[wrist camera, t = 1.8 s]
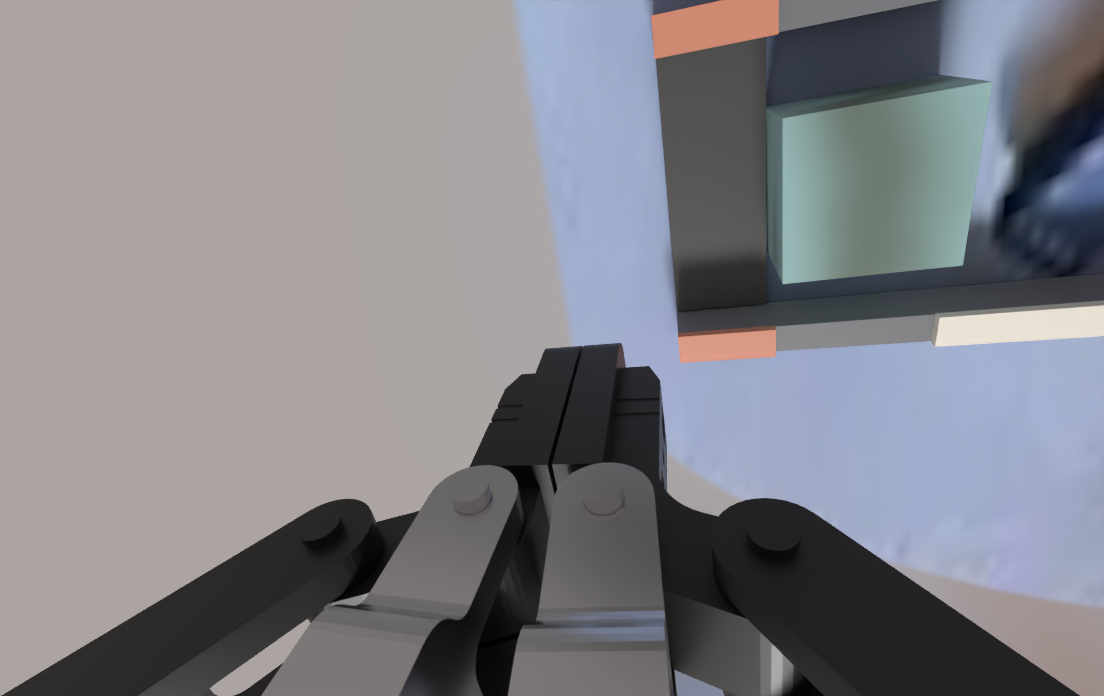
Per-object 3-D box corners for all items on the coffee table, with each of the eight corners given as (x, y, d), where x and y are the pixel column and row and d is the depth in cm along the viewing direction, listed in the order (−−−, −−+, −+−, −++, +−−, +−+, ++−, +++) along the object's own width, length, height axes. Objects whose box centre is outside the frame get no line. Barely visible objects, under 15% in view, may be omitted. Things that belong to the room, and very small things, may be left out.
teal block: (936, 74, 20) (992, 81, 17) (918, 231, 23) (962, 265, 19) (764, 106, 22) (782, 118, 18) (766, 250, 24) (782, 284, 21)
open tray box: (1612, -191, 14) (1809, -240, 12) (1360, 281, 21) (1456, 314, 18) (653, 19, 21) (651, 15, 18) (678, 333, 27) (680, 362, 24)
